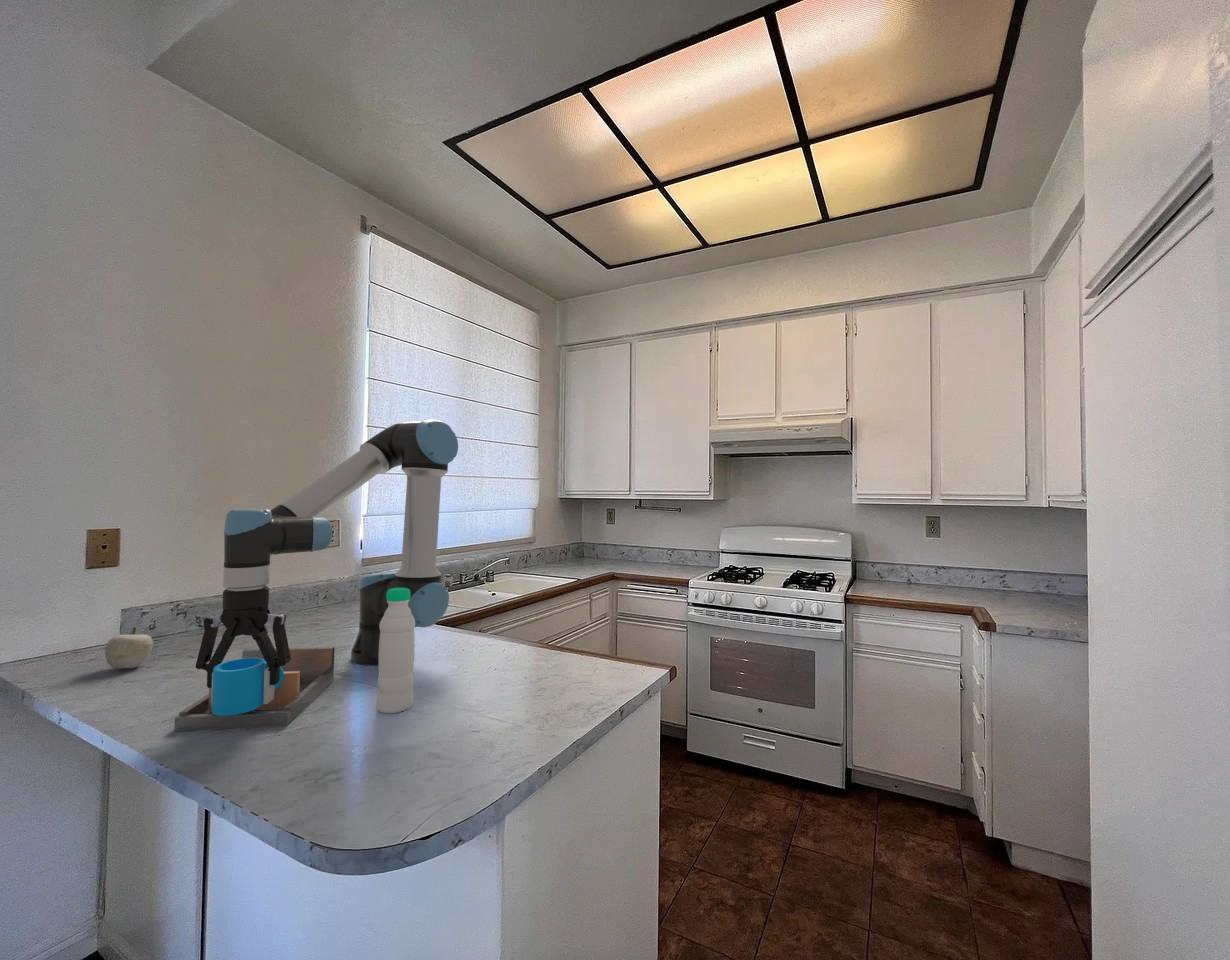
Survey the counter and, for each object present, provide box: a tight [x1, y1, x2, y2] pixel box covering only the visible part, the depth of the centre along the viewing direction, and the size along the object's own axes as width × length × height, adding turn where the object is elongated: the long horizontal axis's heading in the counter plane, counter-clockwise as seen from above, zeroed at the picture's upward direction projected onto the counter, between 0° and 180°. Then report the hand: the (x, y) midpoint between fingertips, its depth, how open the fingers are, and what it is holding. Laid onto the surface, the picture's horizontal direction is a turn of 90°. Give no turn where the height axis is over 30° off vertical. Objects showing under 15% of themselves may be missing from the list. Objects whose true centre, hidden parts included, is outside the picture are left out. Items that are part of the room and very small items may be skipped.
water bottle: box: [376, 588, 416, 715], centre depth 110 cm, size 7×7×25 cm
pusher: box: [208, 671, 300, 713], centre depth 109 cm, size 16×4×7 cm, turn 100°
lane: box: [173, 646, 335, 732], centre depth 111 cm, size 19×24×8 cm
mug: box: [211, 657, 284, 716], centre depth 103 cm, size 12×8×8 cm
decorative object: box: [104, 626, 154, 670], centre depth 131 cm, size 9×9×10 cm
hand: (243, 702), depth 103 cm, fingers closed on mug, 8 cm apart
